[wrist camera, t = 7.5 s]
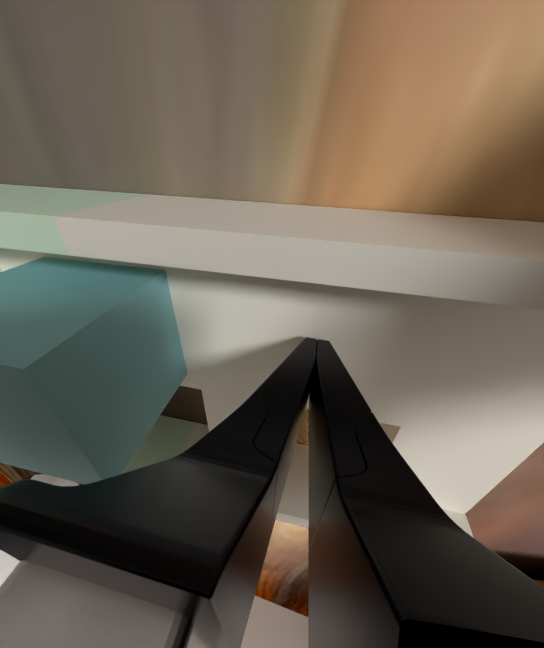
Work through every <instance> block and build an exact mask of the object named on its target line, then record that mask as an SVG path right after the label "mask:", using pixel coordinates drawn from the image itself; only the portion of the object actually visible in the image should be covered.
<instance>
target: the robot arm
mask: <svg viewBox="0 0 544 648" xmlns="http://www.w3.org/2000/svg"><path fill="white" fill-rule="evenodd" d="M308 398H309V648H544V587H542V586H541V585H539V584H538V583H537V582H535V581H534V580H532V579H531V578H530V577H528V576H527V575H525V574H524V573H522V572H521V571H520V570H518V569H517V568H515V567H514V566H513V565H511V564H510V563H508V562H507V561H506V560H504V559H503V558H501V557H500V556H499V555H497V554H496V553H494V552H493V551H492V550H490V549H489V548H487V547H486V546H484V545H483V544H482V543H480V542H479V541H477V540H476V539H475V538H473V537H472V536H470V535H469V534H468V533H466V532H465V531H464V530H463V529H462V528H460V527H459V526H458V525H457V524H456V523H455V522H454V521H453V520H452V519H451V518H450V517H449V516H448V515H447V514H446V513H445V512H444V510H443V509H442V508H441V507H440V506H439V504H438V503H437V502H436V501H435V499H434V498H433V497H432V495H431V494H430V493H429V491H428V490H427V489H426V487H425V486H424V485H423V483H422V482H421V481H420V479H419V478H418V477H417V476H416V474H415V473H414V472H413V470H412V469H411V468H410V466H409V465H408V464H407V462H406V461H405V460H404V458H403V457H402V456H401V454H400V453H399V451H398V450H397V449H396V447H395V446H394V445H393V443H392V442H391V440H390V439H389V438H388V436H387V434H386V433H385V431H384V430H383V428H382V427H381V425H380V424H379V422H378V420H377V419H376V417H375V415H374V414H373V412H371V409H370V407H369V406H368V404H367V402H366V401H365V399H364V397H363V396H362V394H361V392H360V391H359V389H358V387H357V386H356V384H355V382H354V381H353V379H352V377H351V376H350V374H349V372H348V371H347V369H346V367H345V366H344V364H343V362H342V361H341V359H340V358H339V356H338V354H337V353H336V351H335V349H334V348H333V346H332V344H331V343H330V341H328V340H322V339H318V340H317V339H315V338H309V337H306V338H305V339H304V340H303V341H302V342H301V343H300V344H299V345H298V346H297V347H296V348H295V349H294V350H293V351H292V352H291V353H290V354H289V355H288V357H287V358H286V359H285V360H284V361H283V362H282V363H281V364H280V365H279V366H278V367H277V368H276V369H275V370H274V371H273V372H272V373H271V375H270V376H269V377H268V378H267V379H266V380H265V381H264V382H263V383H262V384H261V385H260V386H259V387H258V388H257V390H255V391H254V392H253V393H252V395H251V396H250V397H249V398H248V399H247V400H246V401H245V402H244V403H243V404H242V405H241V406H240V407H238V408H237V409H236V410H235V411H234V412H233V413H231V414H230V415H229V416H228V417H227V418H226V419H224V420H223V421H222V422H221V423H219V424H218V425H217V426H216V427H215V428H213V429H212V430H211V431H210V432H208V433H207V434H206V435H205V436H204V437H202V438H201V439H200V440H199V441H197V442H196V443H195V444H194V445H192V446H191V447H190V448H188V449H187V450H185V451H184V452H182V453H181V454H179V455H177V456H175V457H173V458H171V459H168V460H165V461H161V462H158V463H155V464H152V465H149V466H145V467H142V468H139V469H136V470H132V471H129V472H126V473H123V474H120V475H116V476H113V477H110V478H107V479H104V480H100V481H97V482H93V483H89V484H85V485H78V486H57V485H52V484H48V483H45V482H41V481H37V480H33V479H24V480H19V481H17V482H14V483H11V484H9V485H6V486H3V487H1V488H0V550H2V551H3V552H5V553H7V554H9V555H10V556H12V557H14V558H16V559H17V560H19V561H20V562H19V563H18V564H17V566H16V567H15V568H14V570H13V571H12V572H11V573H10V575H9V576H8V577H7V579H6V580H5V581H4V583H3V584H2V585H1V586H0V648H240V646H241V643H242V639H243V636H244V632H245V628H246V625H247V621H248V617H249V614H250V610H251V607H252V603H253V599H254V596H255V592H256V588H257V585H258V581H259V577H260V574H261V570H262V567H263V563H264V559H265V556H266V552H267V548H268V545H269V541H270V537H271V534H272V530H273V526H274V523H275V519H276V515H277V512H278V508H279V504H280V501H281V497H282V494H283V490H284V486H285V483H286V479H287V475H288V472H289V468H290V464H291V461H292V457H293V453H294V450H295V446H296V443H297V439H298V435H299V432H300V428H301V424H302V421H303V417H304V413H305V410H306V406H307V402H308Z"/></svg>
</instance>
